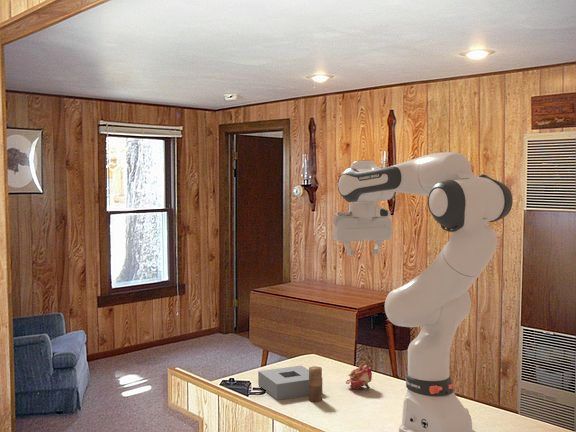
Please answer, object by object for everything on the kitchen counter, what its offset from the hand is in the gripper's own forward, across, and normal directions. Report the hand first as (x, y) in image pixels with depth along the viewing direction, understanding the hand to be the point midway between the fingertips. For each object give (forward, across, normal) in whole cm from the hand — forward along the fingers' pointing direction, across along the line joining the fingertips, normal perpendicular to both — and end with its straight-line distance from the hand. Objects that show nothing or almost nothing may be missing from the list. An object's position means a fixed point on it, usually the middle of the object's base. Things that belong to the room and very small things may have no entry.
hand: (362, 255), depth 189 cm
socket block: (+45, -19, +15) cm, 51 cm away
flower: (+45, +2, +6) cm, 46 cm away
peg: (+45, -16, +2) cm, 48 cm away
